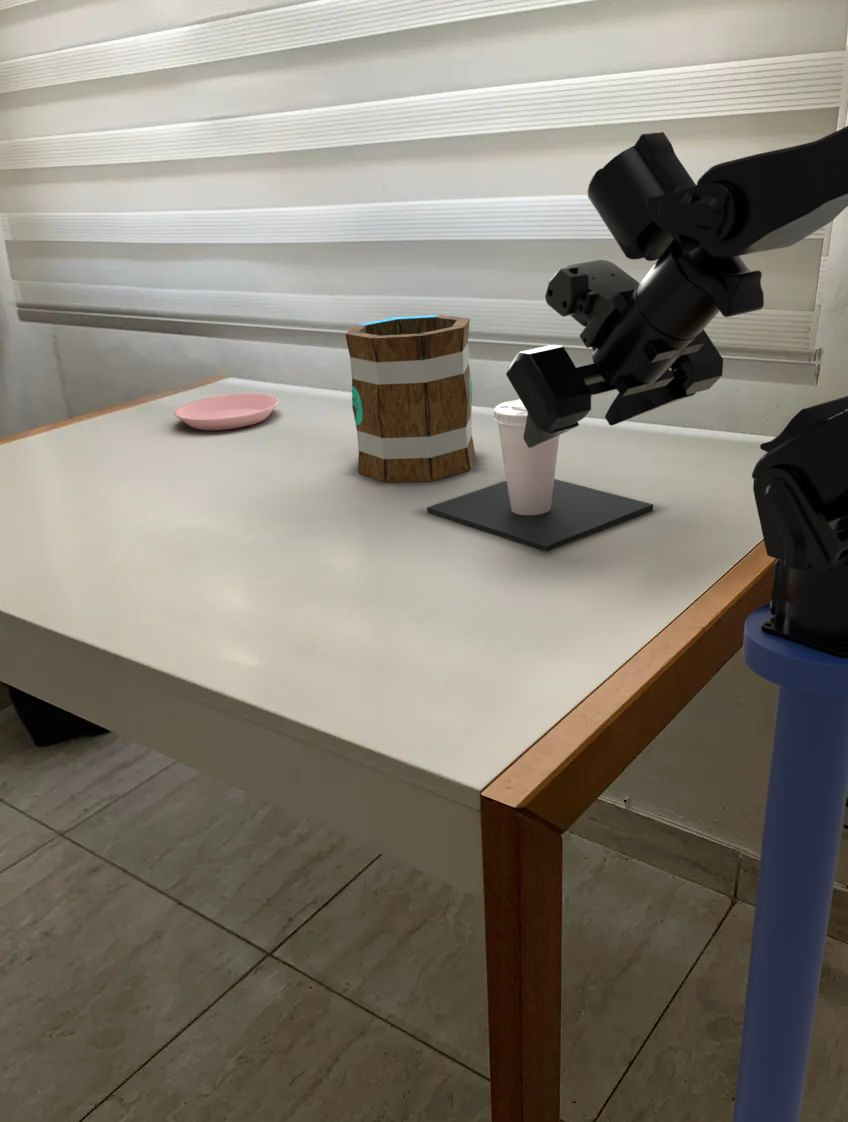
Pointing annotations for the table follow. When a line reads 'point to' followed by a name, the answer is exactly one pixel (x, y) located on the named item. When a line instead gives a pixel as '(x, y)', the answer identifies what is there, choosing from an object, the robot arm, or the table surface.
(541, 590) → the table surface
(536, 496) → the smoothie
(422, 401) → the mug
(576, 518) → the mat
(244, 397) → the plate
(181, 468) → the table surface
